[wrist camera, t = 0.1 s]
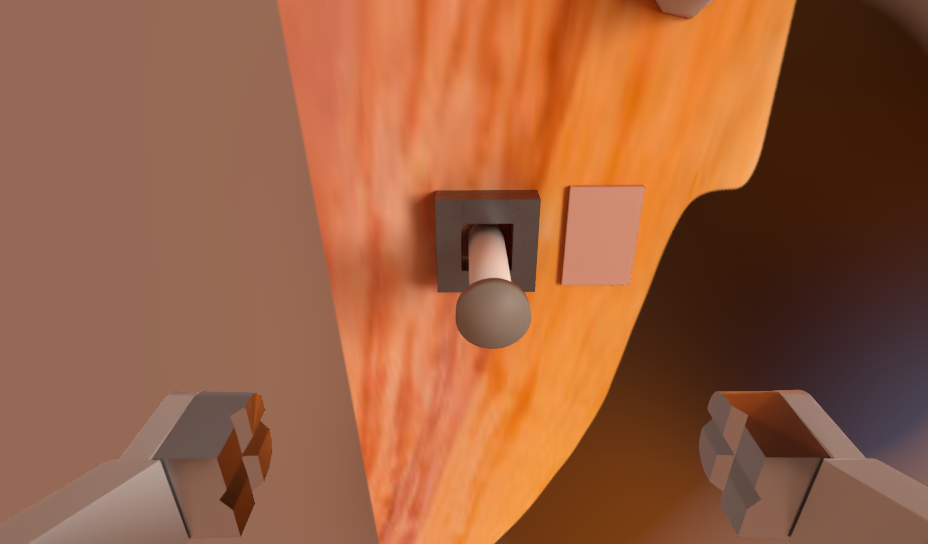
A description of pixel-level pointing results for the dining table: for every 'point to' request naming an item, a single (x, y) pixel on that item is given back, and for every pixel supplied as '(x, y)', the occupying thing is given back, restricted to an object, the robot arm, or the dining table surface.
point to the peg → (491, 293)
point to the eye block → (486, 209)
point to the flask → (682, 7)
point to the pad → (601, 234)
